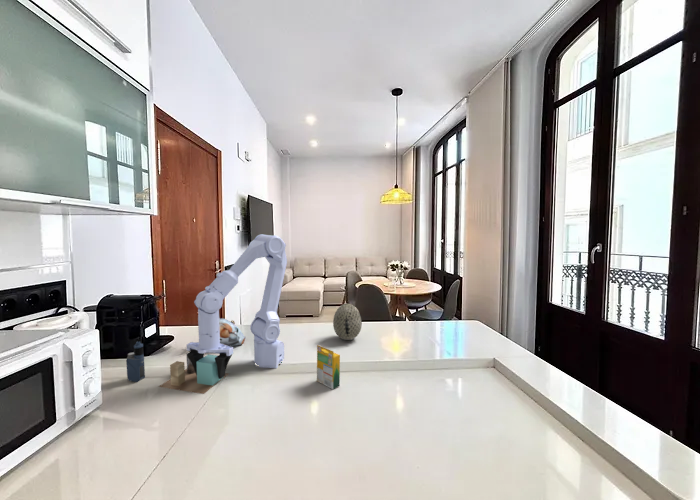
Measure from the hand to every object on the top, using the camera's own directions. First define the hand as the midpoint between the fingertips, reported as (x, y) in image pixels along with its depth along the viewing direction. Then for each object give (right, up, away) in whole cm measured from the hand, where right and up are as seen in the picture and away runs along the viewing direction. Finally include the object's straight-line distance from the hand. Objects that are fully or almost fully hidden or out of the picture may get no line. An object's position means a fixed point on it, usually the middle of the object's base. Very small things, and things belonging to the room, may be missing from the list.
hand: (210, 375), depth 96 cm
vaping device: (-23, -2, +2) cm, 24 cm away
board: (-5, -2, 0) cm, 5 cm away
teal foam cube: (0, -2, 0) cm, 2 cm away
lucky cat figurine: (-6, 0, +29) cm, 29 cm away
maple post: (-9, -3, -2) cm, 9 cm away
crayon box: (+35, -3, +1) cm, 35 cm away
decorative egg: (+41, 0, +37) cm, 55 cm away
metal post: (-8, -2, +5) cm, 10 cm away
